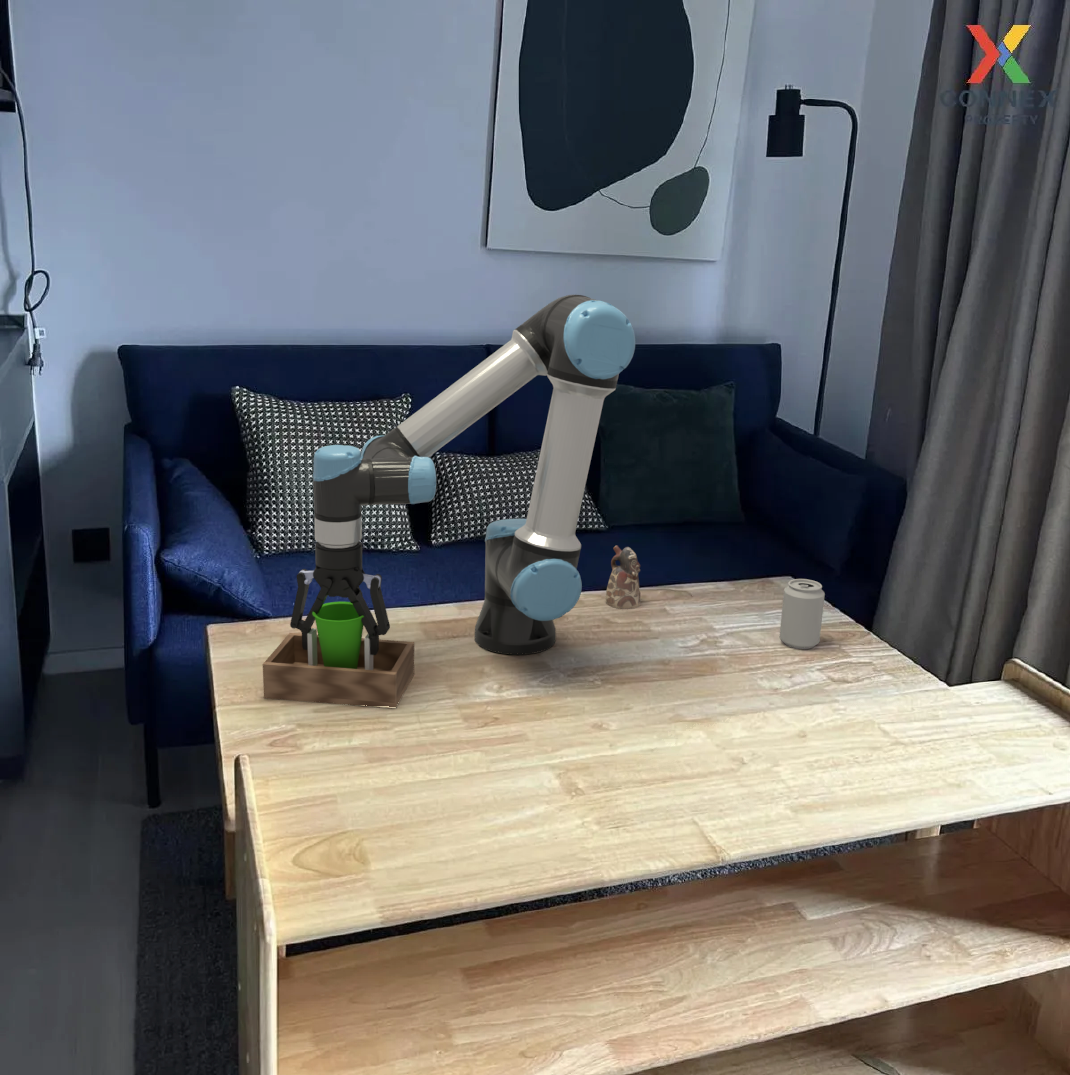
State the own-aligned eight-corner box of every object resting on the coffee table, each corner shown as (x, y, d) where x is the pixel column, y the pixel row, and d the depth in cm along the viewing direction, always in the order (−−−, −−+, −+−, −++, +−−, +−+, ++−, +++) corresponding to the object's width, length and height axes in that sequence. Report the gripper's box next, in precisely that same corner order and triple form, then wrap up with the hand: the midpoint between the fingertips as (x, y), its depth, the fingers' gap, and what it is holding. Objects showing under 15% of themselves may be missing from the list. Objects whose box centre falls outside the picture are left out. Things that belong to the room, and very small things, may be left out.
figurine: (629, 611, 237) (633, 554, 233) (599, 604, 241) (602, 548, 237) (646, 601, 243) (650, 546, 239) (616, 594, 246) (619, 539, 243)
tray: (414, 674, 204) (414, 641, 203) (395, 708, 191) (395, 674, 189) (291, 664, 207) (289, 632, 205) (263, 697, 193) (262, 664, 192)
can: (822, 640, 225) (829, 580, 222) (814, 653, 219) (821, 592, 215) (784, 632, 228) (790, 574, 225) (774, 645, 222) (780, 585, 218)
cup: (357, 685, 193) (356, 623, 190) (305, 679, 195) (303, 617, 192) (375, 664, 202) (375, 604, 198) (325, 659, 203) (323, 599, 200)
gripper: (409, 538, 194) (409, 665, 200) (281, 530, 196) (285, 655, 203) (398, 552, 187) (399, 683, 193) (265, 543, 189) (270, 673, 196)
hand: (341, 669), depth 198 cm, fingers closed on cup, 9 cm apart
